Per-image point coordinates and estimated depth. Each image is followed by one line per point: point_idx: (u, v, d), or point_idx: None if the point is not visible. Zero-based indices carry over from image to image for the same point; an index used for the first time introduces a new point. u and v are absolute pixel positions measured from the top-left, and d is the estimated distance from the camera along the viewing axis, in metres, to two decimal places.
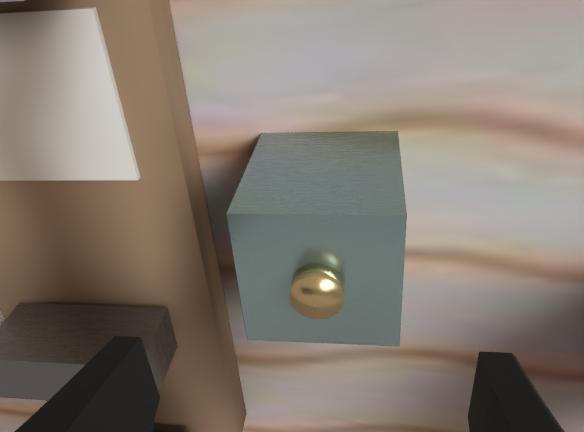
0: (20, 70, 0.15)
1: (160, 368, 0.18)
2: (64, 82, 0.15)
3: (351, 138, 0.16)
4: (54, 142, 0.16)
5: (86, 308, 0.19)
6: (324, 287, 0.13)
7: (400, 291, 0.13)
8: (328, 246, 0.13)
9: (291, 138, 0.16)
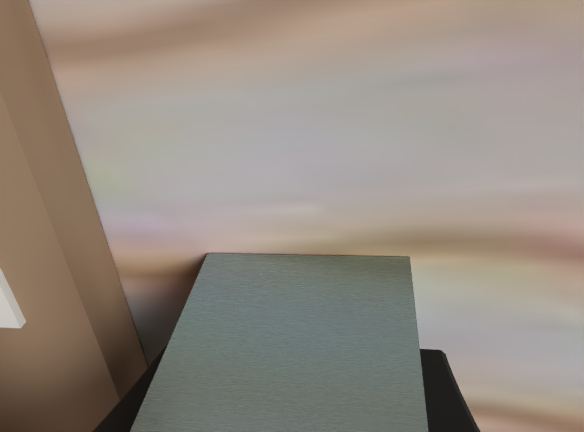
0: None
1: None
2: None
3: (339, 273, 0.11)
4: None
5: None
6: None
7: None
8: None
9: (249, 268, 0.11)
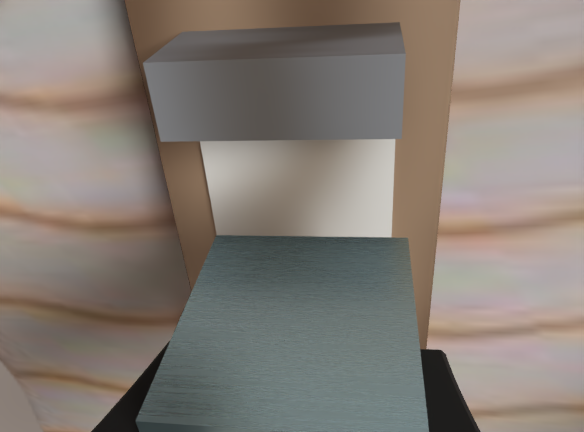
0: (306, 169, 0.16)
1: None
2: (346, 180, 0.16)
3: (341, 253, 0.11)
4: (318, 229, 0.17)
5: None
6: None
7: None
8: None
9: (256, 248, 0.11)
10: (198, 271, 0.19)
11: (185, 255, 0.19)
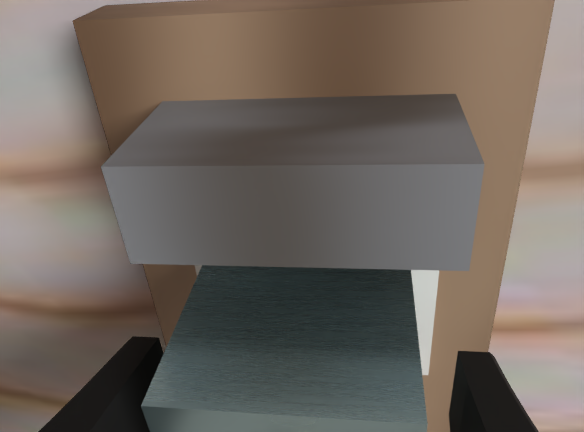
0: None
1: None
2: None
3: None
4: None
5: None
6: None
7: None
8: None
9: None
10: None
11: None
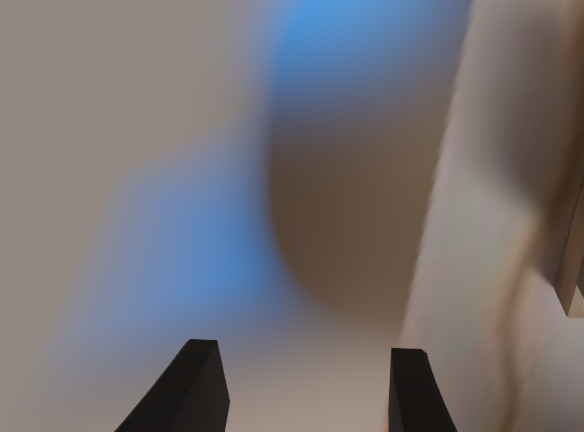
0: None
1: None
2: None
3: None
4: None
5: None
6: None
7: None
8: None
9: None
10: None
11: None
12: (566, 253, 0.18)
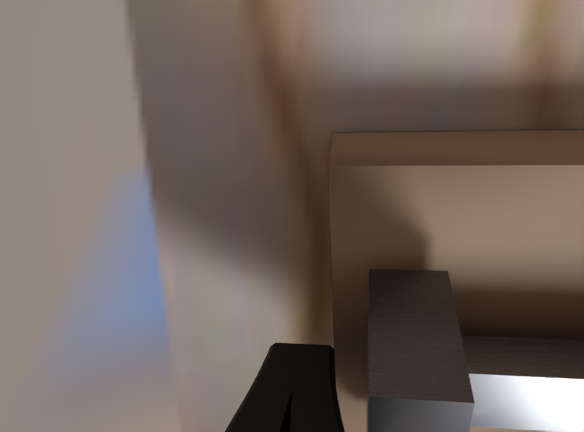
0: None
1: None
2: None
3: None
4: None
5: None
6: None
7: None
8: None
9: None
10: None
11: None
12: None
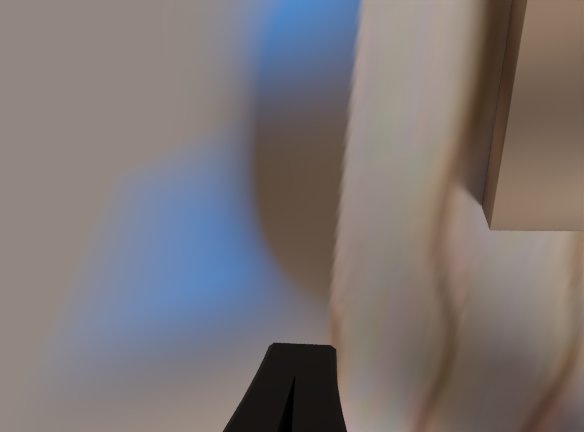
0: None
1: None
2: None
3: None
4: None
5: None
6: None
7: None
8: None
9: None
10: None
11: None
12: (490, 165, 0.18)
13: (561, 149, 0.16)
